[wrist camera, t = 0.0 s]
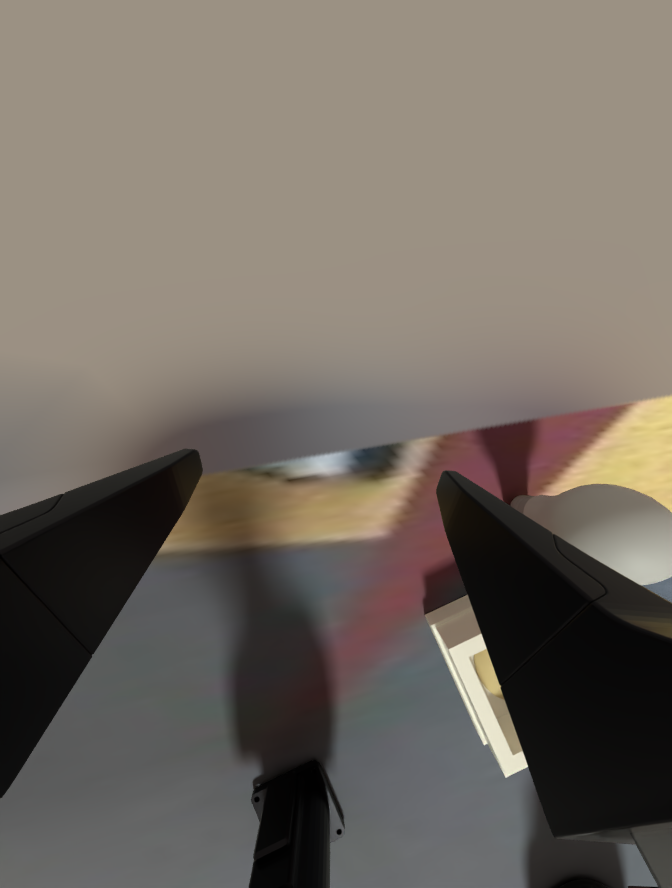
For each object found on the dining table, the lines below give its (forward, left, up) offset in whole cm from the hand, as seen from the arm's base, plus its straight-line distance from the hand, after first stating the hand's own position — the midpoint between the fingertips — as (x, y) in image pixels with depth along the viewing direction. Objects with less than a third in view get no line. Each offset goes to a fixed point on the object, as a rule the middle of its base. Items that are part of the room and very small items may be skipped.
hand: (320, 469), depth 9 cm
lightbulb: (-11, -15, -15) cm, 24 cm away
